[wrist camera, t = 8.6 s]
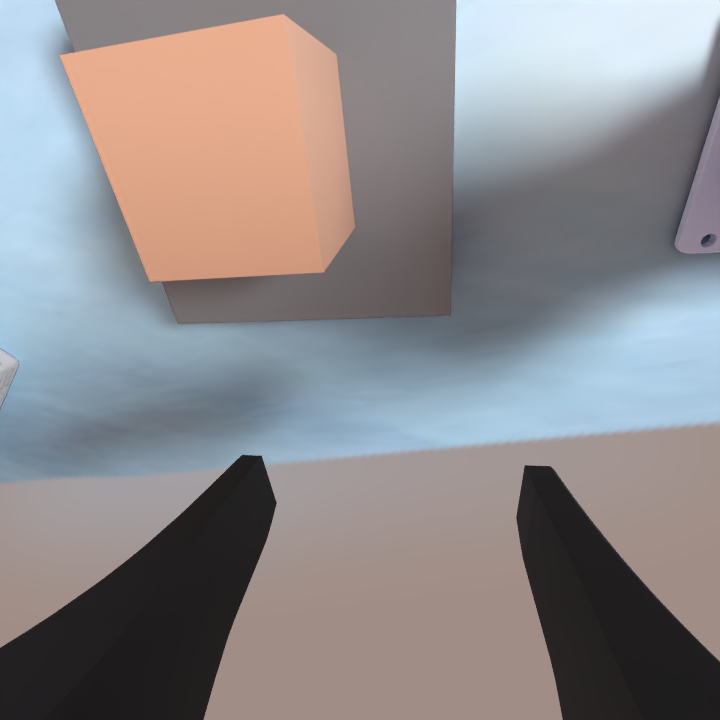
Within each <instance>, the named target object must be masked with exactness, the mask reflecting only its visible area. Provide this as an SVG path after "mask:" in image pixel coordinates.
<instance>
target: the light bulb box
mask: <svg viewBox="0 0 720 720" xmlns="http://www.w3.org/2000/svg"><path fill="white" fill-rule="evenodd" d="M18 365H19V362H18V360H16V359H15V358H14V357H12V356H10V355H9V354H7V353H6V352H4V351H3V350H1V349H0V407H1V405H2V403H3V401H4V398H5V396H6V394H7V391H8V389H9V387H10V384H11V382H12V380H13V377H14V375H15V373H16V370H17V368H18Z"/></svg>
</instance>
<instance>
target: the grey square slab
mask: <svg viewBox="0 0 720 720" xmlns="http://www.w3.org/2000/svg"><path fill="white" fill-rule="evenodd" d="M55 2H56V5H57V7H58V10H59V12H60V15H61V18H62V20H63V23H64V26H65V28H66V31H67V34H68V36H69V39H70V41H71V44H72V47H73V49H74V52H79V51H85V50H90V49H96V48H101V47H107V46H112V45H117V44H123V43H128V42H134V41H139V40H145V39H150V38H156V37H161V36H167V35H172V34H177V33H183V32H188V31H194V30H199V29H205V28H210V27H216V26H221V25H227V24H232V23H237V22H243V21H248V20H254V19H259V18H265V17H270V16H276V15H281V14H284V15H285V16H287V17H288V18H289V19H291V20H292V21H293V22H295V23H296V24H297V25H299V26H300V27H301V28H303V29H304V30H305V31H306V32H308V33H309V34H310V35H312V36H313V37H314V38H316V39H317V40H318V41H320V42H321V43H322V44H324V45H325V46H326V47H328V48H329V49H330V50H331V51H333V52H334V53H335V54H337V63H338V72H339V82H340V91H341V101H342V110H343V119H344V129H345V138H346V147H347V157H348V166H349V176H350V185H351V194H352V204H353V213H354V223H355V228H354V230H353V231H352V233H351V234H350V235H349V237H348V238H347V240H346V241H345V243H344V244H343V245H342V247H341V248H340V250H339V251H338V253H337V254H336V255H335V257H334V258H333V260H332V261H331V263H330V264H329V266H328V267H327V268H326V270H325V271H324V272H321V273H303V274H284V275H266V276H248V277H229V278H211V279H193V280H174V281H162V283H163V286H164V289H165V291H166V294H167V296H168V299H169V302H170V304H171V307H172V310H173V312H174V315H175V317H176V320H177V323H178V324H193V323H225V322H257V321H289V320H321V319H353V318H385V317H417V316H449V315H450V309H451V256H452V202H453V148H454V95H455V41H456V0H55Z"/></svg>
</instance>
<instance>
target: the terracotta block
mask: <svg viewBox="0 0 720 720" xmlns="http://www.w3.org/2000/svg"><path fill="white" fill-rule="evenodd" d="M60 58H61V60H62V63H63V66H64V68H65V71H66V73H67V76H68V78H69V81H70V83H71V86H72V88H73V91H74V93H75V96H76V98H77V101H78V103H79V106H80V108H81V111H82V113H83V116H84V118H85V121H86V123H87V126H88V128H89V131H90V133H91V136H92V138H93V141H94V143H95V146H96V148H97V151H98V153H99V156H100V158H101V161H102V164H103V166H104V169H105V171H106V174H107V176H108V179H109V181H110V184H111V186H112V189H113V191H114V194H115V196H116V199H117V201H118V204H119V206H120V209H121V211H122V214H123V216H124V219H125V221H126V224H127V226H128V229H129V231H130V234H131V236H132V239H133V241H134V244H135V246H136V249H137V251H138V254H139V256H140V259H141V262H142V264H143V267H144V269H145V272H146V274H147V277H148V279H149V282H156V281H174V280H193V279H211V278H229V277H248V276H266V275H284V274H303V273H321V272H324V271H325V270H326V268H327V267H328V266H329V264H330V263H331V261H332V260H333V258H334V257H335V255H336V254H337V253H338V251H339V250H340V248H341V247H342V245H343V244H344V243H345V241H346V240H347V238H348V237H349V235H350V234H351V233H352V231H353V230H354V228H355V223H354V213H353V204H352V194H351V185H350V176H349V166H348V157H347V147H346V138H345V129H344V119H343V110H342V101H341V91H340V82H339V72H338V63H337V54H335V53H334V52H333V51H331V50H330V49H329V48H328V47H326V46H325V45H324V44H322V43H321V42H320V41H318V40H317V39H316V38H314V37H313V36H312V35H310V34H309V33H308V32H306V31H305V30H304V29H303V28H301V27H300V26H299V25H297V24H296V23H295V22H293V21H292V20H291V19H289V18H288V17H287V16H285V15H284V14H281V15H276V16H270V17H265V18H259V19H254V20H248V21H243V22H237V23H232V24H227V25H221V26H216V27H210V28H205V29H199V30H194V31H188V32H183V33H177V34H172V35H167V36H161V37H156V38H150V39H145V40H139V41H134V42H128V43H123V44H117V45H112V46H107V47H101V48H96V49H90V50H85V51H79V52H74V53H68V54H63V55H60Z"/></svg>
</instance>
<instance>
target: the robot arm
mask: <svg viewBox="0 0 720 720" xmlns="http://www.w3.org/2000/svg"><path fill="white" fill-rule="evenodd" d="M708 234H710V239H709V240H708V242H706V243H705V244H702V245H701V240H702V239H703V237H705V236H706V235H708ZM675 247H676V249H678V250H679V251H681V252H683V253H687V254H695V253H714V252H720V97H719V100H718V103H717V106H716V110H715V113H714V116H713V119H712V123H711V126H710V129H709V132H708V135H707V139H706V142H705V145H704V148H703V152H702V155H701V158H700V161H699V164H698V168H697V171H696V174H695V177H694V181H693V184H692V187H691V190H690V193H689V197H688V200H687V203H686V206H685V210H684V213H683V216H682V219H681V222H680V226H679V229H678V232H677V235H676V239H675ZM275 507H276V500H275V497H274V493H273V491H272V487H271V484H270V481H269V478H268V475H267V471H266V468H265V465H264V462H263V459H262V456H252V455H242V456H241V457H240V458H239V459H238V460H236V461H235V462H234V463H233V464H232V465H231V466H230V467H229V468H228V469H227V470H226V471H225V472H224V473H223V474H222V475H221V476H220V477H219V478H218V479H217V480H216V481H215V482H214V483H213V484H212V485H211V486H210V487H209V488H208V489H207V490H206V491H205V492H204V493H203V494H202V495H200V496H199V498H197V499H196V500H195V501H194V502H193V503H192V504H191V505H190V506H189V507H188V508H187V509H186V510H185V511H184V512H183V513H181V515H179V516H178V517H177V518H176V519H175V520H174V521H173V522H171V523H170V524H169V525H168V526H167V527H166V528H165V529H163V530H162V531H161V532H160V533H159V534H158V535H157V536H156V537H154V538H153V539H152V540H151V541H150V542H149V543H148V544H146V545H145V546H144V547H143V548H142V549H140V550H139V551H138V552H137V553H136V554H134V555H133V556H132V557H131V558H130V559H128V560H127V561H126V562H124V563H123V564H122V565H121V566H119V567H118V568H117V569H115V570H114V571H113V572H112V573H110V574H109V575H108V576H106V577H105V578H104V579H102V580H101V581H100V582H98V583H97V584H96V585H94V586H93V587H91V588H90V589H88V590H87V591H86V592H84V593H83V594H81V595H80V596H78V597H77V598H76V599H74V600H73V601H71V602H70V603H68V604H67V605H66V606H64V607H63V608H61V609H60V610H58V611H57V612H56V613H54V614H53V615H51V616H50V617H48V618H47V619H45V620H44V621H42V622H40V623H39V624H38V625H36V626H34V627H33V628H31V629H30V630H28V631H27V632H25V633H23V634H22V635H20V636H19V637H17V638H15V639H14V640H12V641H11V642H9V643H7V644H6V645H4V646H3V647H1V648H0V720H203V719H204V716H205V712H206V709H207V705H208V702H209V698H210V695H211V691H212V688H213V684H214V681H215V677H216V674H217V671H218V668H219V664H220V661H221V658H222V655H223V651H224V648H225V645H226V641H227V639H228V636H229V633H230V630H231V627H232V625H233V622H234V619H235V617H236V614H237V612H238V609H239V607H240V604H241V602H242V599H243V597H244V595H245V592H246V590H247V587H248V585H249V582H250V579H251V577H252V575H253V572H254V570H255V567H256V565H257V563H258V560H259V557H260V555H261V553H262V550H263V547H264V545H265V542H266V539H267V537H268V533H269V530H270V526H271V523H272V519H273V515H274V511H275ZM516 518H517V524H518V531H519V538H520V543H521V550H522V555H523V560H524V564H525V568H526V571H527V575H528V578H529V583H530V586H531V590H532V594H533V597H534V601H535V604H536V608H537V612H538V615H539V619H540V622H541V626H542V629H543V634H544V637H545V641H546V644H547V648H548V651H549V655H550V659H551V664H552V668H553V672H554V676H555V681H556V685H557V691H558V696H559V701H560V707H561V712H562V717H563V720H720V662H719V660H718V659H717V658H716V657H714V656H713V655H712V654H711V653H710V652H709V651H708V650H707V649H706V648H705V647H704V646H703V645H702V644H701V643H700V642H699V641H698V640H697V639H696V638H695V637H694V636H693V635H692V634H691V633H690V632H689V631H688V630H687V629H686V628H685V627H684V626H683V625H682V624H681V623H680V622H679V621H678V620H677V618H675V617H674V615H673V614H672V613H671V612H670V611H669V610H668V609H667V608H666V607H665V606H664V605H663V604H662V603H661V602H660V600H659V599H658V598H656V596H655V595H654V594H653V593H652V592H651V591H650V590H649V589H648V587H647V586H646V585H645V584H644V583H643V582H642V581H641V579H639V577H638V576H637V575H636V574H635V573H634V572H633V571H632V569H631V568H630V567H629V566H628V565H627V563H626V562H625V561H624V560H623V559H622V558H621V556H620V555H619V554H618V553H617V552H616V550H615V549H614V548H613V547H612V546H611V544H610V543H609V542H608V541H607V539H606V538H605V537H604V536H603V535H602V533H601V532H600V531H599V530H598V528H597V527H596V526H595V525H594V523H593V522H592V521H591V520H590V518H589V517H588V516H587V515H586V513H585V512H584V510H583V509H582V508H581V506H580V505H579V504H578V502H577V501H576V500H575V498H574V497H573V496H572V494H571V493H570V492H569V490H568V489H567V487H566V486H565V485H564V483H563V482H562V480H561V479H560V478H559V476H558V475H557V473H556V472H555V470H554V469H553V468H552V467H550V466H526V465H525V468H524V474H523V480H522V486H521V492H520V499H519V505H518V511H517V517H516Z"/></svg>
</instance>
